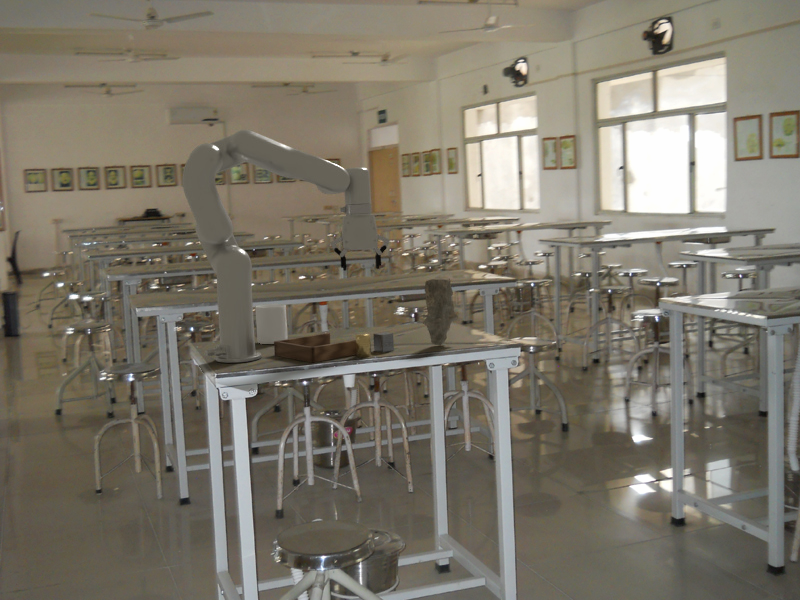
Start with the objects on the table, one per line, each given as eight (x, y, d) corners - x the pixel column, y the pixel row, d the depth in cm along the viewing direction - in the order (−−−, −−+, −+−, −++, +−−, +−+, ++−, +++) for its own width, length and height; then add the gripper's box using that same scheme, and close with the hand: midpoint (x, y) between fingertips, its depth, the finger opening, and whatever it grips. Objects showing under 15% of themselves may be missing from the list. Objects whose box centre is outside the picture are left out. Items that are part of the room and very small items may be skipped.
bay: (312, 362, 219) (311, 347, 218) (274, 355, 233) (274, 341, 232) (367, 352, 231) (366, 338, 231) (328, 346, 245) (327, 332, 245)
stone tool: (427, 348, 233) (425, 279, 231) (418, 346, 238) (415, 278, 236) (463, 344, 239) (461, 276, 237) (453, 341, 244) (451, 275, 242)
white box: (259, 346, 251) (257, 308, 249) (254, 340, 262) (252, 304, 261) (290, 343, 254) (288, 306, 252) (283, 338, 265) (281, 302, 264)
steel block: (383, 352, 231) (382, 335, 230) (374, 351, 234) (373, 333, 233) (393, 350, 233) (393, 333, 233) (384, 349, 236) (384, 332, 236)
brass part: (362, 357, 223) (361, 336, 223) (353, 356, 226) (352, 334, 226) (374, 355, 226) (373, 334, 225) (364, 354, 229) (364, 333, 228)
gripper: (329, 212, 232) (332, 271, 234) (389, 209, 234) (392, 268, 236) (328, 212, 239) (331, 270, 241) (386, 209, 241) (389, 267, 243)
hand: (361, 269), depth 239 cm, fingers open, 9 cm apart
